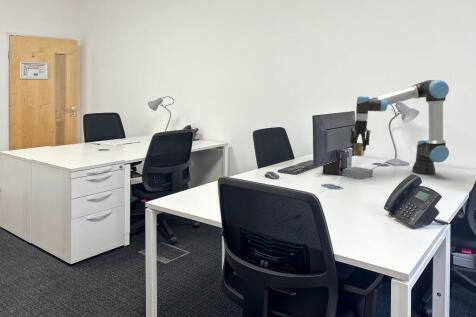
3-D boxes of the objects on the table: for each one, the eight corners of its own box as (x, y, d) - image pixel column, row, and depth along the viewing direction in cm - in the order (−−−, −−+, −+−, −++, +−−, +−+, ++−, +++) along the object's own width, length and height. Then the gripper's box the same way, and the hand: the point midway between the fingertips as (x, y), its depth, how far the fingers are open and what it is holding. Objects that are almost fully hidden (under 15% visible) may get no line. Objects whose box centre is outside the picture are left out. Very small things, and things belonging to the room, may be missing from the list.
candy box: (337, 167, 306) (338, 145, 303) (344, 167, 307) (346, 145, 304) (343, 171, 293) (344, 148, 290) (351, 171, 293) (352, 148, 290)
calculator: (338, 173, 284) (339, 152, 281) (339, 175, 280) (340, 153, 277) (322, 173, 285) (323, 151, 282) (323, 174, 281) (324, 152, 278)
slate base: (372, 177, 276) (372, 169, 276) (360, 179, 268) (360, 172, 267) (354, 173, 287) (355, 166, 286) (342, 176, 278) (342, 168, 277)
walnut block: (364, 155, 275) (365, 143, 273) (360, 156, 271) (360, 144, 270) (357, 154, 278) (358, 142, 277) (353, 155, 275) (354, 143, 273)
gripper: (346, 119, 275) (343, 153, 279) (370, 121, 262) (367, 157, 266) (352, 118, 280) (350, 152, 284) (376, 120, 266) (373, 156, 271)
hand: (358, 154), depth 275 cm, fingers closed on walnut block, 5 cm apart
